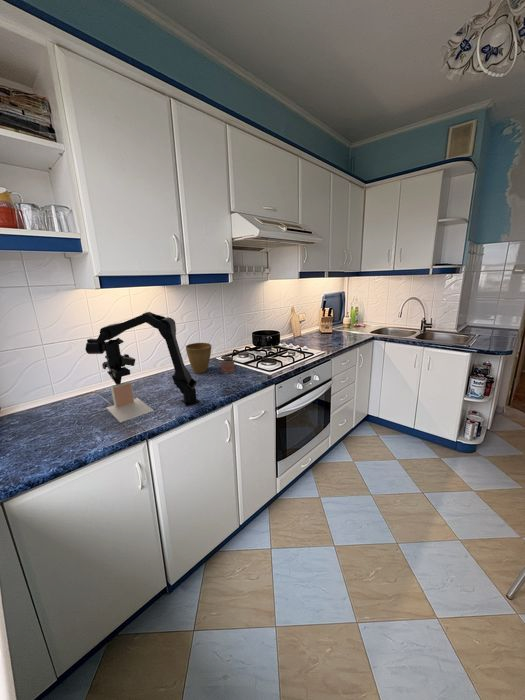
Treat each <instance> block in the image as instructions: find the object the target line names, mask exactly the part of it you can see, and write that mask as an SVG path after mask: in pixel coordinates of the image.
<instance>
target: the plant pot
mask: <svg viewBox="0 0 525 700" xmlns="http://www.w3.org/2000/svg"><path fill="white" fill-rule="evenodd" d="M185 351H186V355H187V358H188V361H189V364H190V366H191V368H192V371H193V372H194V373H195V374H204V373H206V372H207V370H208V367H209V363H210V359H211V355H212V354H211V352H212V344H211V343H208V342H195V343H194V342H193V343H188V344H187V345H185Z"/></svg>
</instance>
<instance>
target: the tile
mask: <svg viewBox="0 0 525 700" xmlns="http://www.w3.org/2000/svg"><path fill="white" fill-rule="evenodd" d="M110 387H111V388H110V389H111V395H112V401H113V405H114V407H115V408H119V407H122V406H125V405H128V404H131V403H134V399H135V397H134V391H133V385H132V382H131V381H130V380H128V381H125V382H121V383H120V384H117V385H116V384H114V385H110Z"/></svg>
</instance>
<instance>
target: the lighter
mask: <svg viewBox="0 0 525 700" xmlns="http://www.w3.org/2000/svg"><path fill="white" fill-rule="evenodd" d="M220 365H221V367H220V369H221V374H228V375H229V373H234V374H235V373H236V370H235V360H234V359H233V356H229V355H228V356H221V360H220Z"/></svg>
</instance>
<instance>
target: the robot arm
mask: <svg viewBox="0 0 525 700" xmlns="http://www.w3.org/2000/svg"><path fill="white" fill-rule="evenodd" d="M145 323H146V324H148V325H149V326H151V327H153V328H154V329H156V330H158V332H159V334H160V335H161V337H162V338H163V339H164V341H165V343H166V346H167V349H168V353H169V355H170V359H171V361H172V365H173V368H174V373H173V374H172V375H171V378H172V380H173V385H175V387H176V388H177V389H179V392H180V393H181V394H182V397H183V399H181V400H180V402H181V403H183V404H185V406H186V407H189V406H191V405H195V404H197V403H200V400H199V399H198V398H197V391H196V387H197V384H198V382H197V381H196V380H195V379H194V378H193V377H192V375H191V373H190V371H189V370H188V369H187V367H186V366H185V363H184V360H183V356H182V353H181V350H180V346H179V343H178V341H177V337H176V336H177V328H176V326H177V325H176V322H175V320H174V319H173V318H172V317H169V316H168V317H165V316H164V315H159V314H156V313H154V312H150V311H146V312H144V313H142V314H141V315H138V316H135V317H133V318H130V319H128V320H126V321H125V320H124V322H123V321H122V322H118V323H113V324H108V325H105V326H104V327H101V328H100V329H99V335H98V337H97V338H88V339H86V341H87V342H86V343H85V344H86V345H85V352H86V354H88V355H103V354H104V353H105V355H104V356H105V357H104V358H105V359H106V361H104V362H103V363H102V365H101V366H102V369H104V370H106V369H108V371H107V374H108V375H109V377H110V378H111V379H112V381H113V382H114V383H115V384H114V385H117V384H120V383H122V377H125V376H130V375H131V370H130V369H129V368H128V367H126V366H131V367H134V366H135V364H136V358H134V357H131V356H130V355H129V354H128V353H124V354H122V353H121V348H120V345H122V344H123V343H125V341H124V340H123V339H121V338H120V337H118V336H120V335H121V334H122V333H124V332H126V331H127V330H130V329H133V328H135V327H137V326H141V325H143V324H145ZM116 337H117V338H116ZM114 338H115V339H114Z"/></svg>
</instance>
